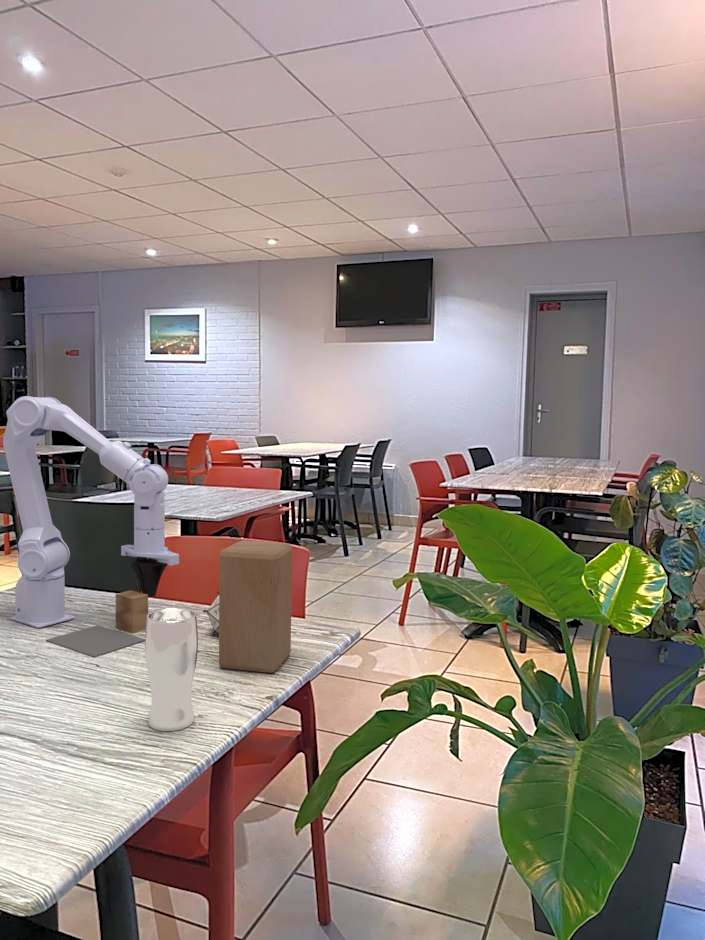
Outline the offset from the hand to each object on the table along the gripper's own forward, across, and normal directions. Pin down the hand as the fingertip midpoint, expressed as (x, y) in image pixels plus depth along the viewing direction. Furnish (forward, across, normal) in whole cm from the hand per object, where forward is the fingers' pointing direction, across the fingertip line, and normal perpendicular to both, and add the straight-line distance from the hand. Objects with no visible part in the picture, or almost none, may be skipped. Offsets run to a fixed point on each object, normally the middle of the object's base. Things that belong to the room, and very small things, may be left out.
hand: (149, 596), depth 137 cm
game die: (+6, -16, -5) cm, 18 cm away
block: (+6, -30, +3) cm, 31 cm away
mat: (+6, 0, +12) cm, 14 cm away
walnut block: (+6, 0, +4) cm, 7 cm away
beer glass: (+6, -36, +27) cm, 45 cm away
